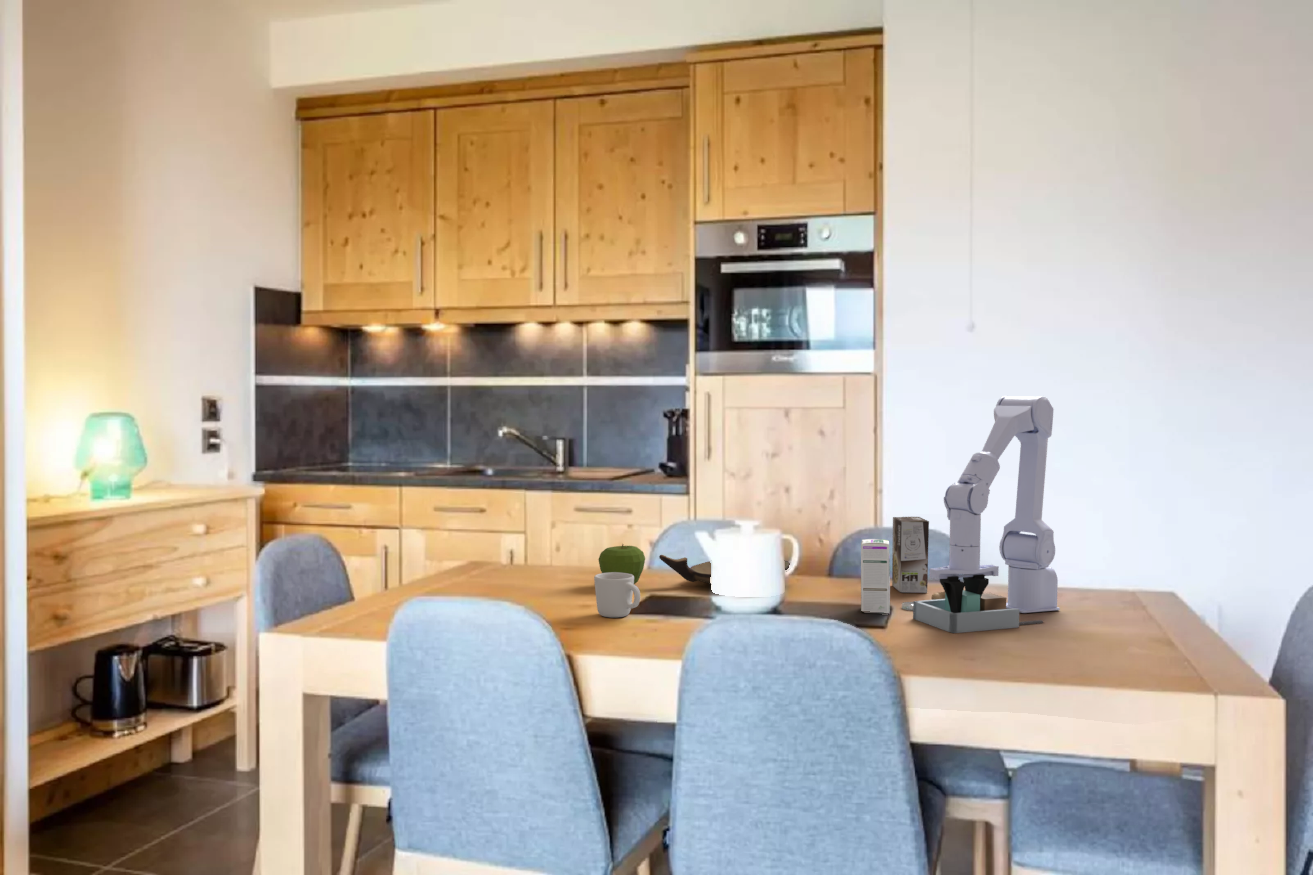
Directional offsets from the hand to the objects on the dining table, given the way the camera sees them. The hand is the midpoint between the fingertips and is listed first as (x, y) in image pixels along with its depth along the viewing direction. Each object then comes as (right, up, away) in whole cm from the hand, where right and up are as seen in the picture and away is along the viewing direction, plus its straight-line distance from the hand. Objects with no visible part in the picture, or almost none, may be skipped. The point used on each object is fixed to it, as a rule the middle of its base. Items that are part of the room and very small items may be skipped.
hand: (963, 614), depth 207 cm
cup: (-67, -1, +5) cm, 67 cm away
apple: (-67, 0, +35) cm, 76 cm away
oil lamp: (-43, 0, +39) cm, 58 cm away
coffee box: (-2, 0, +34) cm, 34 cm away
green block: (0, -2, 0) cm, 2 cm away
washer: (-7, -1, +14) cm, 15 cm away
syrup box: (-15, -1, +11) cm, 18 cm away
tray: (+1, -2, 0) cm, 2 cm away
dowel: (+5, -1, +21) cm, 21 cm away
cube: (+5, -2, +2) cm, 6 cm away
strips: (+11, -2, +4) cm, 12 cm away
